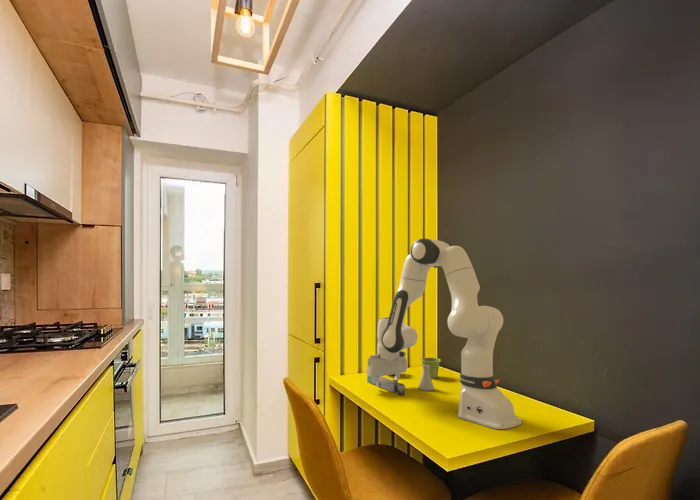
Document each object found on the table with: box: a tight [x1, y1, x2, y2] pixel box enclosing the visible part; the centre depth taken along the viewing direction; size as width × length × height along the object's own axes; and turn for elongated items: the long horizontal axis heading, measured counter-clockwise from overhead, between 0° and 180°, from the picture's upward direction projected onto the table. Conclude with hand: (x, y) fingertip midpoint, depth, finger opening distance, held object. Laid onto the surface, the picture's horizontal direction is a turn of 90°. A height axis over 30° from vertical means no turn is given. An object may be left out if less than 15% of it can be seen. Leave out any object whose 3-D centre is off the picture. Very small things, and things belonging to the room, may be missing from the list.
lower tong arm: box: [379, 376, 401, 385], centre depth 177 cm, size 21×2×4 cm, turn 32°
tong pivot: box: [397, 382, 406, 397], centre depth 165 cm, size 3×3×5 cm
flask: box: [417, 365, 435, 392], centre depth 174 cm, size 7×7×10 cm
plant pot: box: [421, 357, 442, 380], centre depth 194 cm, size 9×9×9 cm
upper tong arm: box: [366, 374, 397, 394], centre depth 176 cm, size 21×2×4 cm, turn 31°
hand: (387, 384), depth 174 cm, fingers open, 8 cm apart
